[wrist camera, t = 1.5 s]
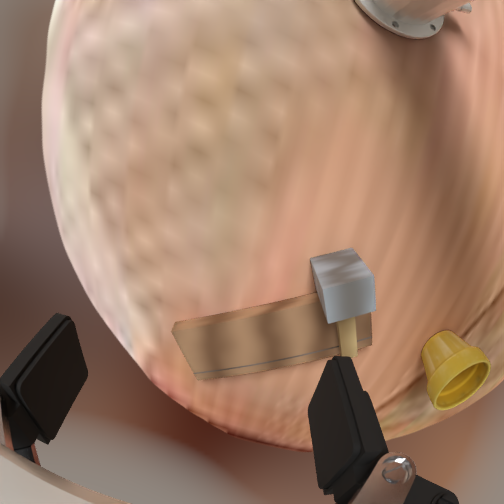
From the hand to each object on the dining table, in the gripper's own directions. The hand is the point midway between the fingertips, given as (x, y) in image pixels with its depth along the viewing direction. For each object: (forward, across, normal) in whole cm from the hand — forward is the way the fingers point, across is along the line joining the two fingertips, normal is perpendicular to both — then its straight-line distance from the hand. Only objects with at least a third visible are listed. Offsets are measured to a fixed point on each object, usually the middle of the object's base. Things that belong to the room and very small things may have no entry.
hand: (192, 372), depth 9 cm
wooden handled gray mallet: (+22, -14, +9) cm, 28 cm away
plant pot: (+22, -34, +16) cm, 44 cm away
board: (+22, -7, +15) cm, 27 cm away
